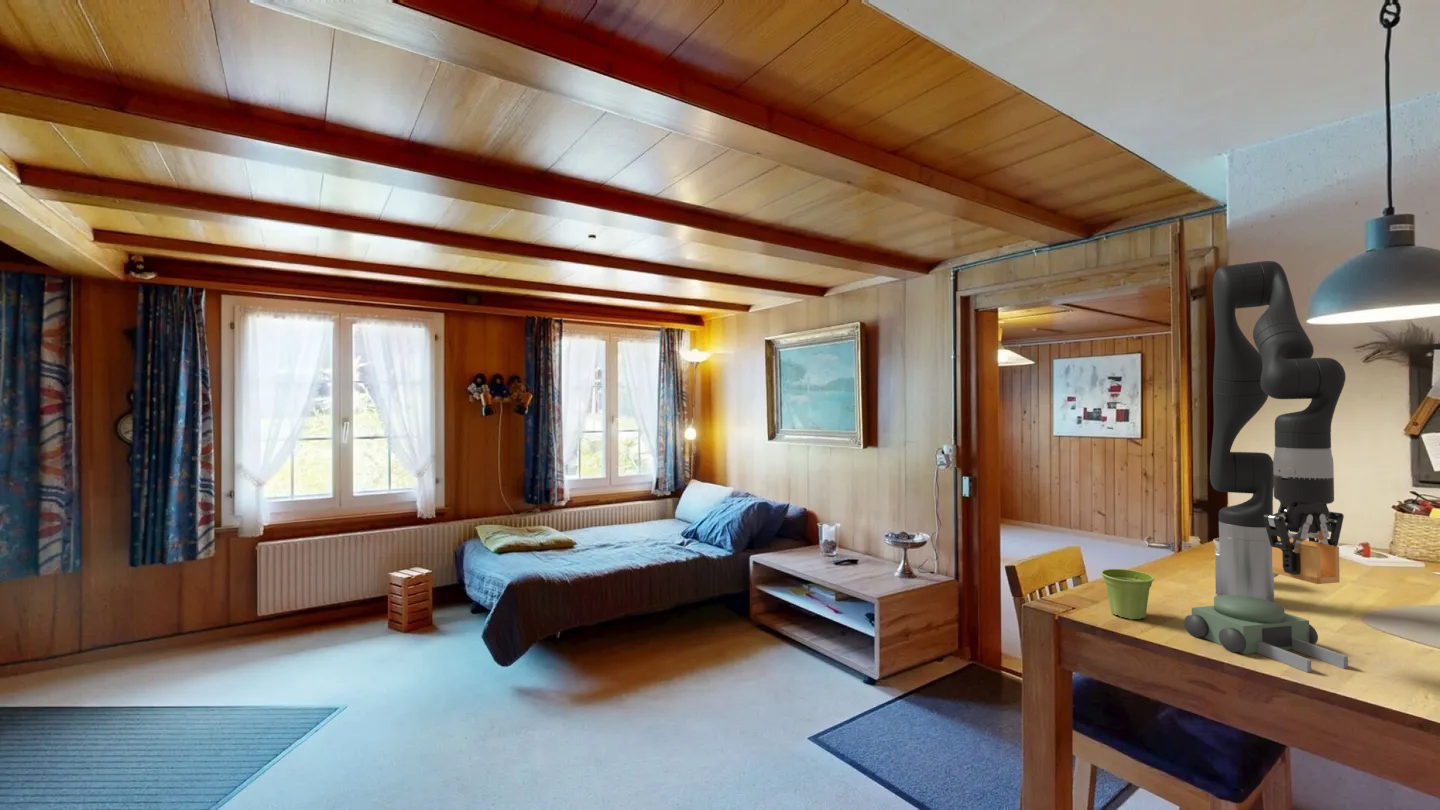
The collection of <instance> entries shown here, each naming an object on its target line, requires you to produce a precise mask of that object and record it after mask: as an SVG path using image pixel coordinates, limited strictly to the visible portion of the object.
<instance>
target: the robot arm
mask: <svg viewBox="0 0 1440 810" xmlns="http://www.w3.org/2000/svg"><path fill="white" fill-rule="evenodd" d="M1212 281H1213V282H1212V298H1213V316H1214V333H1215V335H1214V337H1215V338H1214V340H1215V341H1214V361H1213V364H1214V365H1213V375H1212V376H1213V382H1212V383H1213V384H1212V396H1213V397H1212V399H1213V401H1212V402H1213V431H1212V441H1211V449H1210V450H1211V451H1210V461H1209V462H1210V463H1209V479H1210V480H1209V481H1210V484H1211V486H1212V488H1213V489H1214V490H1216V491H1217V492H1223V493H1230V494H1231V493H1232V494H1233V493H1237V494H1252V496H1251V498H1249V499H1247V500H1246V501H1244V502H1242V503H1238V504H1234V505H1229V506H1224V507H1221V509H1220V510H1219V511H1218V536H1219V537H1218V538H1219V553H1216V554H1215V553H1214V557H1215V558H1214V559H1215V560H1214V565H1215V567H1214V568H1215V569H1214V570H1215V572H1214V573H1215V576H1214V577H1215V594H1216V595H1217V596H1218V595H1241V596H1248V597H1254V598H1259V599H1264V600H1268V601H1271V602H1274V603H1275V577H1274V573H1273V571H1272V547H1275V548H1279V549H1280V550H1282V555H1283V569H1284V571H1285V572H1286V573H1290V574H1294V575H1299V574H1300V573H1301V560H1300V553H1299V552H1300V548H1301V544H1302V541H1305V540H1307V541H1313V542H1318V543H1322V544H1328V545H1333V546H1338V545H1339V541H1340V536H1341V531H1342V528H1343V527H1342V526H1343V524H1344V523H1343V522H1344V519H1345V516H1344V514H1343V513H1341V512H1335V511H1331V510H1330V509H1329V507H1328V505H1329V504H1333V502H1334V501H1335V481H1334V480H1335V474H1334V472H1335V470H1334V469H1335V468H1334V467H1335V466H1334V458H1333V457H1334V456H1333V454H1332V453H1333V452H1332V422H1333V418H1334V414H1335V410H1336V408H1337V405H1338V401H1339V400H1340V396H1341V394H1342V392H1343V389H1344V386H1345V382H1346V371H1345V369H1344V366H1343V365H1342V364H1341V363H1340V362H1339V361H1338V360H1336V359H1334V358H1332V357H1331V358H1330V357H1313V355H1314V346H1313V345H1314V344H1313V343H1312V341H1311V339H1310V338H1309V336H1308V335H1307V333H1306V331H1305V329H1304V328H1303V326H1302V324H1301V322H1300V319H1299V317H1298V315H1297V314H1298V313H1297V309H1296V307H1295V302H1294V297H1293V293H1292V292H1291V291H1292V290H1291V288H1290V283H1289V280H1288V277H1287V275H1286V272H1285V270H1284V267H1283V266H1282V265H1281V264H1280V263H1278V262H1276V261H1272V260H1265V261H1264V260H1263V261H1256V262H1249V263H1248V262H1247V263H1240V264H1237V263H1236V264H1230V265H1224V266H1220V267H1218V268H1217V270H1216V271H1215V273H1214V276H1213V280H1212ZM1264 306H1268V307H1267V309H1266V310H1265V311H1264V313H1262V315H1261V316H1260V317H1259V318H1258V320H1257V321H1256V322H1255V325H1254V327H1253V331H1252V339H1253V342H1254V344H1255V347H1256V348H1257V349H1256V348H1255V347H1254V345H1253V344H1252V343H1251V342H1250V341H1249V339H1248V338H1247V337H1246V336H1245V334H1244V333H1243V332H1242V330H1241V328H1240V326H1239V324H1238V320H1237V317H1236V310H1238V309H1247V308H1257V307H1258V308H1259V307H1264ZM1268 398H1273V399H1276V400H1307V399H1308V400H1310V403H1309V404H1308V406H1307V407H1306V408H1305V409H1303V410H1302V409H1301V410H1299V411H1294V412H1288V413H1282V414H1279V415H1277V417H1275V420H1274V454H1273V457H1271V455H1270V454H1268V453H1266V452H1256V451H1255V452H1251V451H1250V452H1247V451H1231V450H1232V447H1233V444H1234V442H1235V440H1236V438H1237V436H1238V434H1239V433H1240V432H1241V430H1242V429H1243V428H1244V427H1245V426H1246V425H1247V423H1249V421H1250V420H1252V419H1253V418H1254V417H1255V416H1256V414H1257V413H1259V411H1260V410H1261V408H1263V406H1264V405H1265V404H1266V402H1267V400H1268ZM1274 499H1275V500H1278V502H1279V504H1280V505H1279V507H1278V510H1277V512H1276V513H1274ZM1329 533H1330V534H1329ZM1291 538H1293V544H1291V543H1290V539H1291ZM1278 539H1279V540H1280V541H1278Z"/></svg>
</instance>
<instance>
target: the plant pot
mask: <svg viewBox="0 0 1440 810" xmlns="http://www.w3.org/2000/svg"><path fill="white" fill-rule="evenodd" d="M1100 575H1102V577H1103V582H1104V583H1105V587H1106V592H1107V597H1108V603H1109V608H1110V609H1109V610H1110V613H1111V612H1112V613H1113V614H1115V615H1118V617H1121V618H1122V617H1125V618H1129V619H1128V620H1133V619H1140V620H1142V619H1146V618H1147V617H1146V616H1147V610H1148V603H1149V595H1150V588H1151V587H1152V583H1153V582H1154V581H1155V577H1154V576H1153V575H1151V574H1149V573H1146V572H1143V571H1139V570H1133V569H1125V568H1108V569H1107V568H1106V569H1103V570H1101V571H1100ZM1112 613H1111V614H1112ZM1113 614H1112V615H1113ZM1115 615H1114V616H1115Z"/></svg>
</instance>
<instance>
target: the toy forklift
mask: <svg viewBox="0 0 1440 810" xmlns="http://www.w3.org/2000/svg"><path fill="white" fill-rule="evenodd" d="M1183 624H1184V628H1185V630H1186V632H1187V633H1188V634H1189V635H1190V636H1192V637H1194V638H1203V639H1206V640H1207V641H1210V642H1213V643H1215V644H1218V645H1220V646H1222V648H1224V649H1225V650H1227V651H1228V652H1230V653H1240V654H1242V655H1247V654H1248V655H1250V654H1251V655H1252V654H1259V655H1262V656H1265V657H1268V658H1270V659H1273V660H1275V661H1277V662H1280V663H1283V664H1284V665H1287V666H1289V667H1293V668H1296V669H1297V670H1300V671H1302V672H1305V673H1312V659H1311V658H1310V659H1309V658H1306V657H1304V656H1301V655H1300V654H1303V655H1306V656H1309V657H1312V658H1313V659H1317V660H1319V661H1322V662H1325V663H1328V664H1330V665H1333V666H1335V667H1339V668H1341V669H1345V670H1346V669H1349V657H1348V655H1346V654H1342V653H1339V652H1337V651H1333V650H1330V649H1328V648H1325V647H1322V646H1320V645H1316V644H1317V643H1318V641H1319V640H1318V639H1319V635H1318V632H1317V630H1316V629H1315V627H1313V626H1312V625H1311V624H1310V620H1309V619H1307V618H1303V617H1299V616H1297V615H1293V614H1290V613H1287V612H1285V607H1284V606H1283V605H1281V604H1279V603H1278V602H1277V603H1276V602H1275V601H1274V602H1271V601H1268V600H1264V599H1259V598H1254V597H1248V596H1241V595H1218V594H1217V595H1216V596H1214V598H1213V605H1207V606H1206V605H1205V606H1195V607H1194V606H1193V607H1191V614H1189V615H1187V616H1185V618H1184V620H1183ZM1291 650H1292V651H1296V652H1298V653H1300V654H1296V653H1294V652H1291Z"/></svg>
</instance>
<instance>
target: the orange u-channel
mask: <svg viewBox="0 0 1440 810" xmlns="http://www.w3.org/2000/svg"><path fill="white" fill-rule="evenodd" d="M1280 540H1281V539H1280V538H1278V541H1280ZM1290 543H1291V544H1293V538H1291V539H1290ZM1299 553H1300V560H1301V573H1300V574H1299V575H1294V574H1290V573H1286V572H1285V571H1284V569H1283V555H1282V550H1280V549H1279V548H1275V547H1272V571H1273V573H1276V574H1279V575H1281V576H1284V577H1288V578H1293V579H1295V580H1300V581H1304V582H1308V583H1312V584H1315V585H1321V584H1322V585H1323V584H1337V583H1340V546H1338V545H1337V546H1333V545H1328V544H1322V543H1318V542H1313V541H1307V540H1305V541H1302V544H1301V548H1300V552H1299Z"/></svg>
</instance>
